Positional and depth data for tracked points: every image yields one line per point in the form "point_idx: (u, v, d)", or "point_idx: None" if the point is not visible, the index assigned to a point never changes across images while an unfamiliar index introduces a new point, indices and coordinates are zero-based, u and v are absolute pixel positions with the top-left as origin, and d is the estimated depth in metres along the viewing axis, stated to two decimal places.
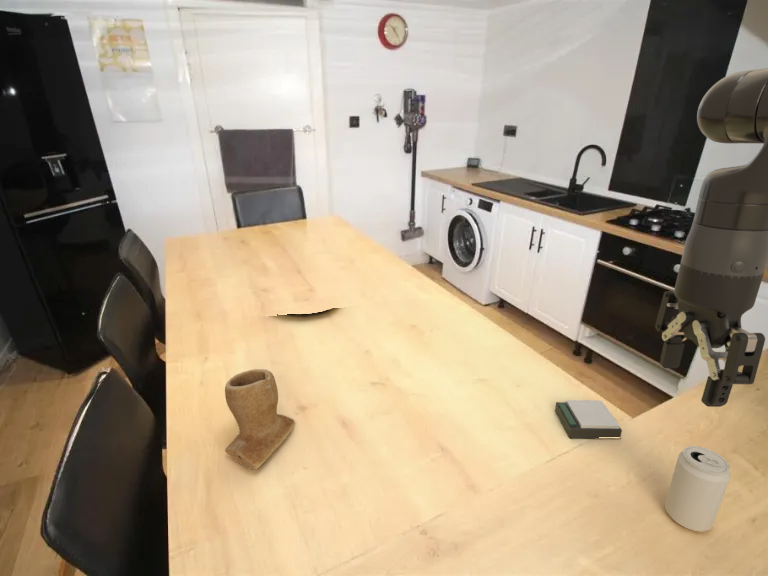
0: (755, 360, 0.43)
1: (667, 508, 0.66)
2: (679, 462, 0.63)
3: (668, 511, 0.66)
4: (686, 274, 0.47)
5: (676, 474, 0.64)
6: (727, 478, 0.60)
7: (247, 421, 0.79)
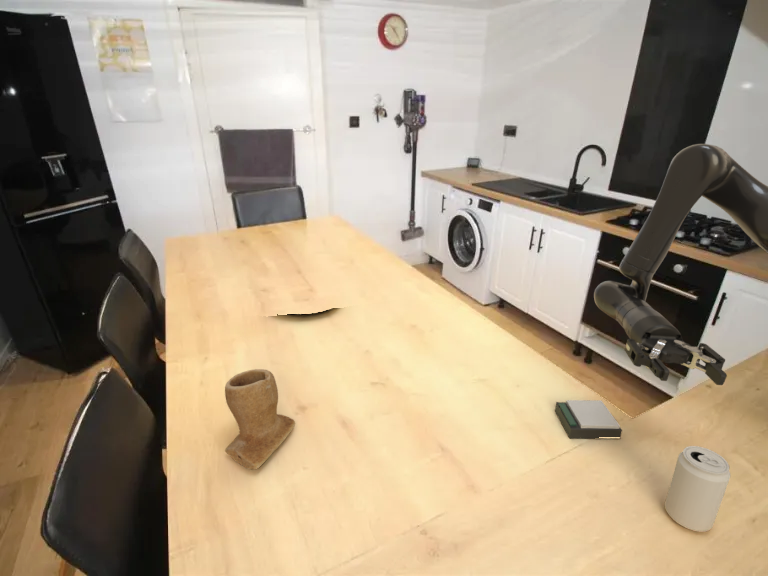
0: (631, 347, 0.75)
1: (667, 508, 0.66)
2: (679, 462, 0.63)
3: (668, 511, 0.66)
4: None
5: (676, 474, 0.64)
6: (727, 478, 0.60)
7: (247, 421, 0.79)
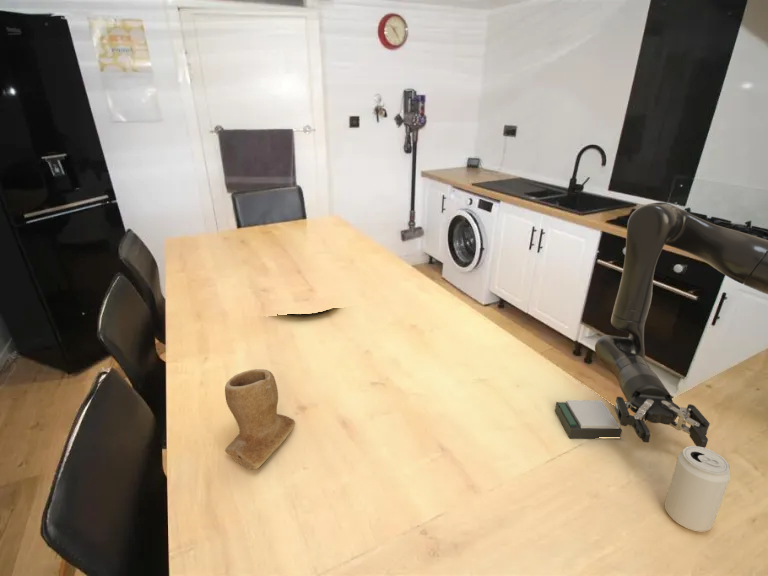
0: (618, 406, 0.79)
1: (667, 508, 0.66)
2: (679, 462, 0.63)
3: (668, 511, 0.66)
4: None
5: (676, 474, 0.64)
6: (727, 478, 0.60)
7: (247, 421, 0.79)
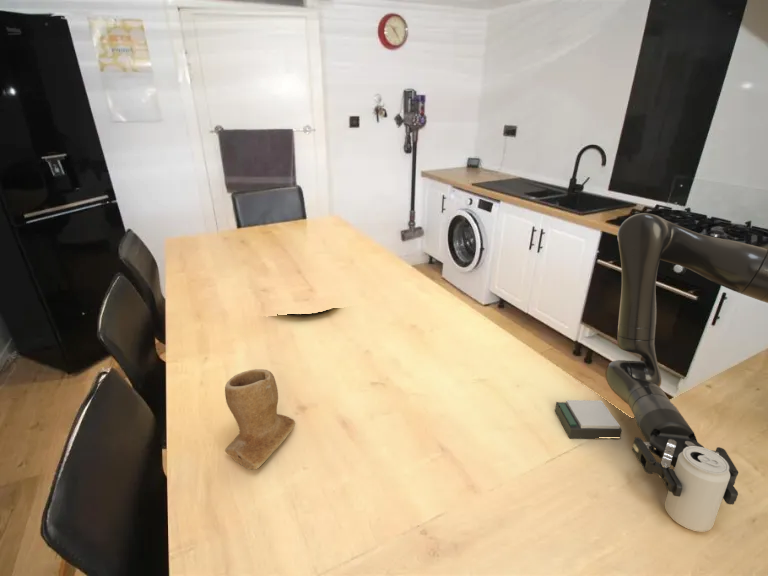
0: (640, 450, 0.69)
1: (667, 508, 0.66)
2: (679, 462, 0.63)
3: (668, 511, 0.66)
4: None
5: (676, 475, 0.64)
6: (727, 478, 0.60)
7: (247, 421, 0.79)
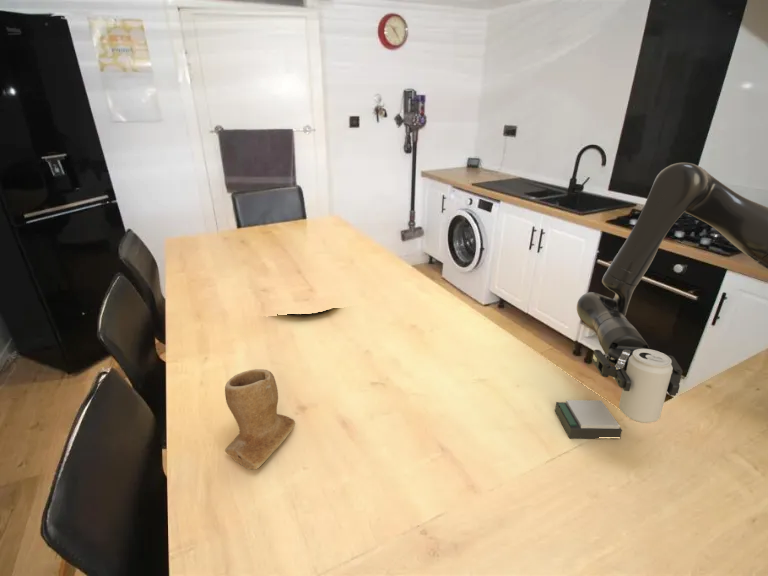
0: (598, 358, 0.77)
1: (620, 406, 0.74)
2: (629, 361, 0.71)
3: (621, 408, 0.73)
4: None
5: (627, 373, 0.71)
6: (669, 370, 0.67)
7: (247, 421, 0.79)
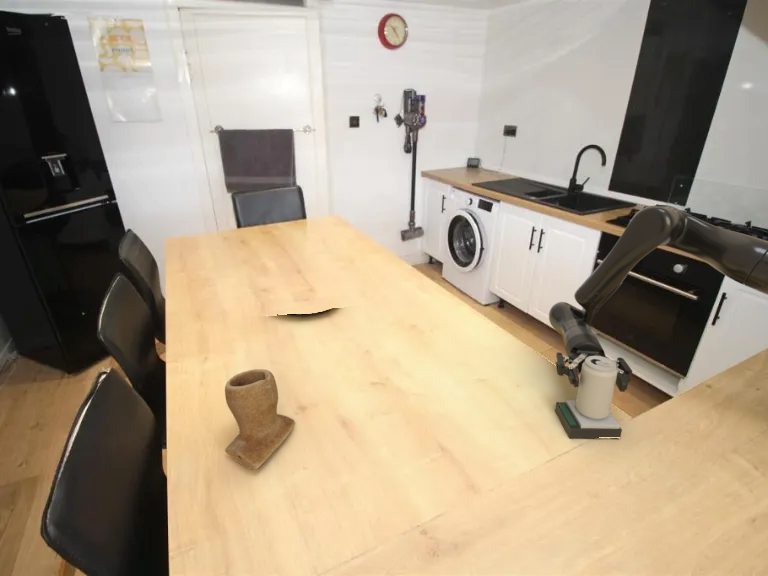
0: (557, 360, 0.90)
1: (576, 405, 0.86)
2: (582, 366, 0.83)
3: (577, 407, 0.86)
4: None
5: (581, 376, 0.84)
6: (614, 374, 0.80)
7: (247, 421, 0.79)
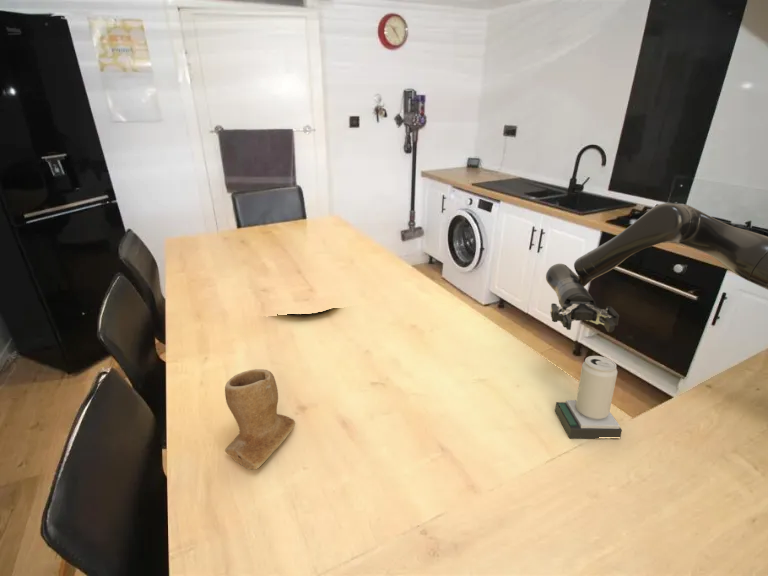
0: (552, 309, 0.99)
1: (576, 405, 0.86)
2: (582, 366, 0.83)
3: (577, 407, 0.86)
4: None
5: (581, 376, 0.84)
6: (614, 374, 0.80)
7: (247, 421, 0.79)
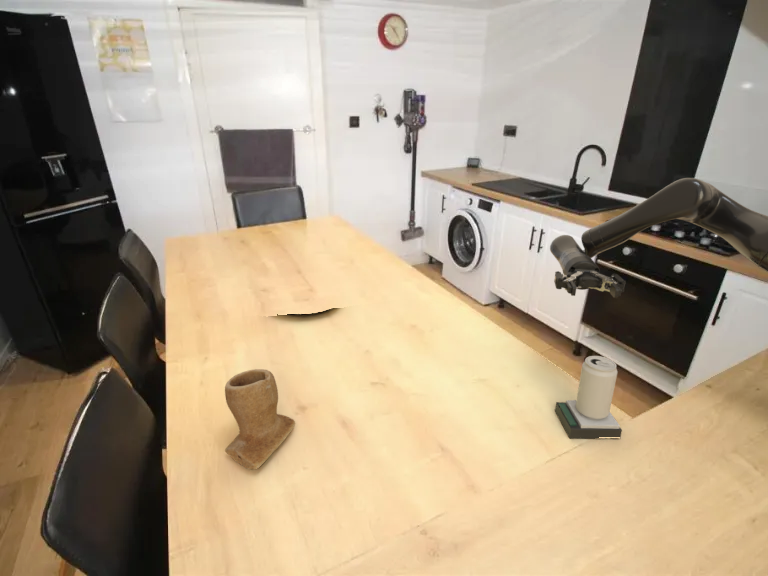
0: (556, 276, 0.97)
1: (576, 405, 0.86)
2: (582, 366, 0.83)
3: (577, 407, 0.86)
4: None
5: (581, 376, 0.84)
6: (614, 374, 0.80)
7: (247, 421, 0.79)
